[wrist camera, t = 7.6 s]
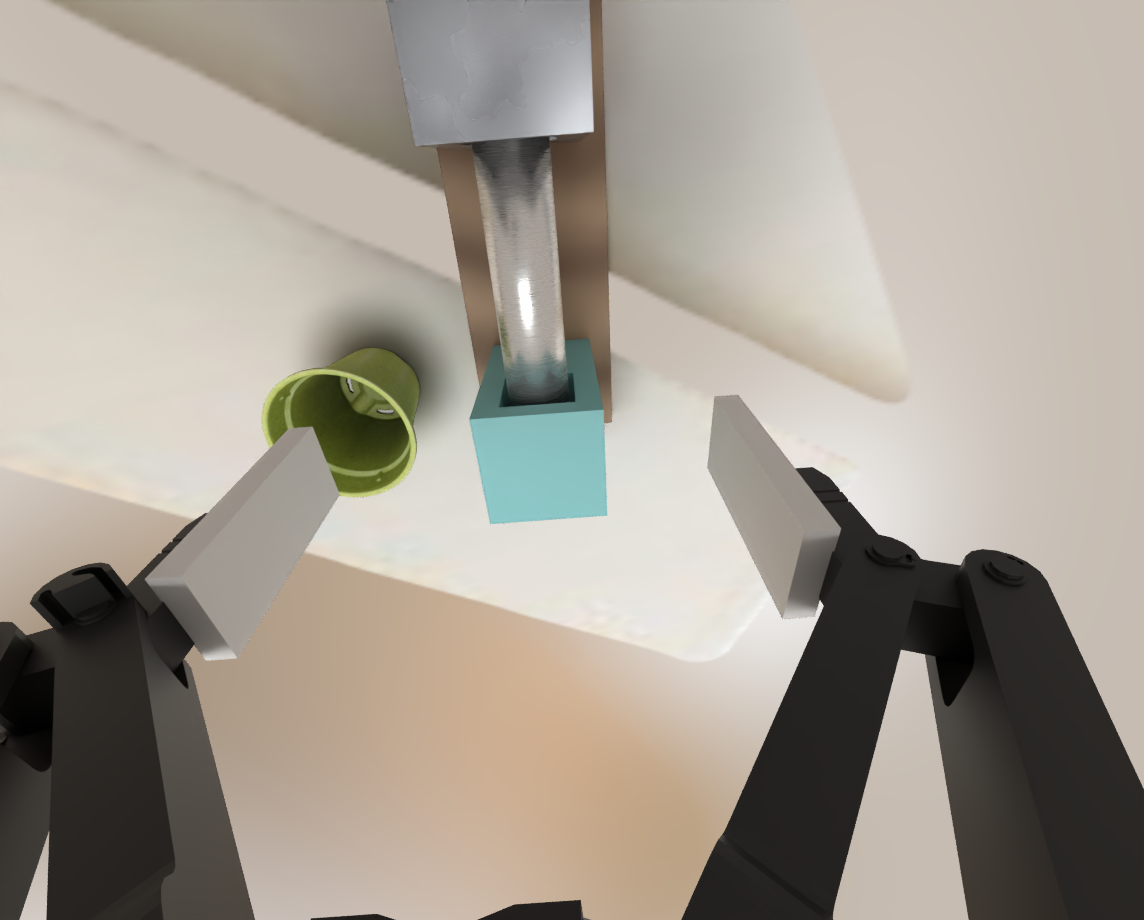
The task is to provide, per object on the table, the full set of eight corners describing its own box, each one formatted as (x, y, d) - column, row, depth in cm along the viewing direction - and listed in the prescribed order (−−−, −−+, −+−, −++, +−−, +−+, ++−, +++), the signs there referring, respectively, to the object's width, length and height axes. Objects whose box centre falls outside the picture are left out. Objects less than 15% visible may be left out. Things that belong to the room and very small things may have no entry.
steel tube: (471, 107, 22) (459, 99, 19) (546, 101, 22) (546, 92, 19) (517, 430, 31) (513, 458, 28) (571, 426, 31) (573, 454, 28)
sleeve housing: (438, -9, 25) (362, -120, 15) (572, -20, 25) (584, -138, 15) (462, 150, 29) (414, 145, 19) (579, 141, 29) (593, 132, 19)
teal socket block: (493, 345, 35) (469, 419, 25) (589, 338, 35) (603, 409, 25) (506, 430, 39) (490, 523, 29) (593, 423, 39) (607, 515, 29)
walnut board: (416, 1, 27) (409, -7, 25) (598, -13, 26) (600, -22, 25) (489, 422, 40) (487, 431, 39) (609, 413, 40) (611, 422, 39)
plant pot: (449, 435, 41) (427, 496, 33) (337, 438, 41) (289, 500, 33) (430, 324, 36) (399, 366, 28) (302, 327, 36) (237, 371, 28)
